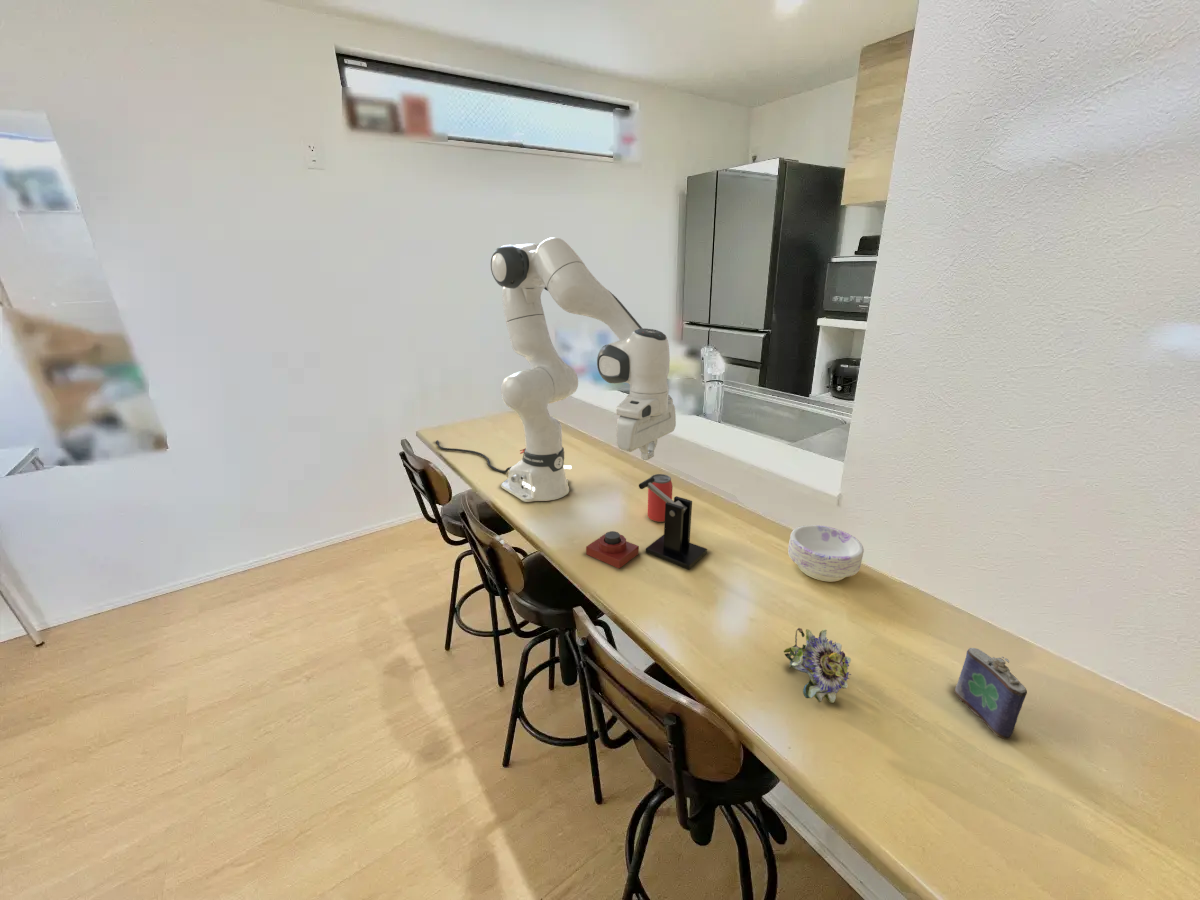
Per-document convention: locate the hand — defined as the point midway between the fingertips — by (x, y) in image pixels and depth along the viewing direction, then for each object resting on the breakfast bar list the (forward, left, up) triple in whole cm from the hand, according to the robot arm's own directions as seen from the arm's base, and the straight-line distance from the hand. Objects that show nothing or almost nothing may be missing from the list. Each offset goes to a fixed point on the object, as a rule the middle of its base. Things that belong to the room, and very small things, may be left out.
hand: (647, 458), depth 118 cm
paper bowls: (+39, +14, -23) cm, 47 cm away
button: (-3, -10, -19) cm, 22 cm away
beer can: (-4, +13, -23) cm, 27 cm away
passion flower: (+47, -21, -23) cm, 56 cm away
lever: (+4, 0, -10) cm, 11 cm away
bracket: (+9, 0, -23) cm, 24 cm away
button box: (-3, -10, -23) cm, 25 cm away
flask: (+70, -11, -23) cm, 75 cm away
